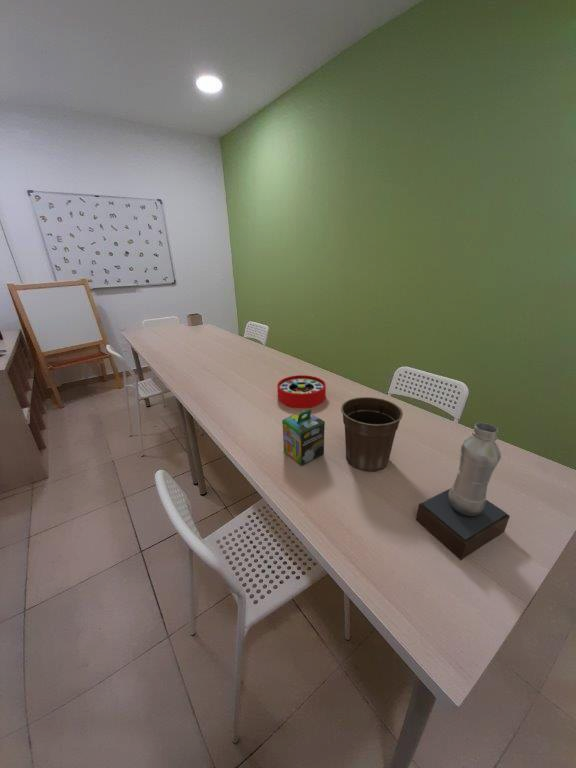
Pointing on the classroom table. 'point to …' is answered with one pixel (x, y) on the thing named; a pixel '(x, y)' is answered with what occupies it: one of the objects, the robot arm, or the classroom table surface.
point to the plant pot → (370, 431)
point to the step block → (460, 524)
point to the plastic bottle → (475, 470)
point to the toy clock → (301, 391)
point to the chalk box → (303, 436)
